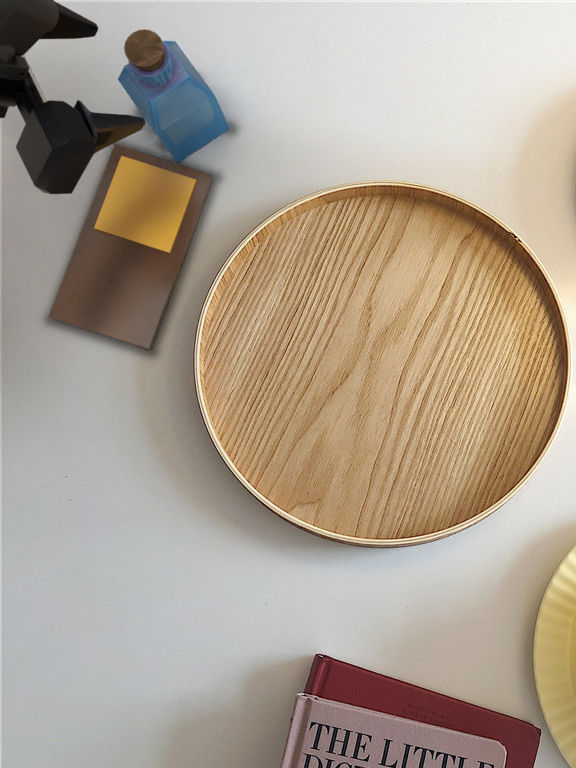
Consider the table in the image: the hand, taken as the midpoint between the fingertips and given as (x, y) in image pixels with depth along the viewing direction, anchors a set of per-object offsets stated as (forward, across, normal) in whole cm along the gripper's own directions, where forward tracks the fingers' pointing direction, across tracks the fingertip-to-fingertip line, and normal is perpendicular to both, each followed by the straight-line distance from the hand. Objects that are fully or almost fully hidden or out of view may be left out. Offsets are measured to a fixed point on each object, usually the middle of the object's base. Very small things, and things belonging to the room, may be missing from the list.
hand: (119, 76), depth 58 cm
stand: (+2, -9, +12) cm, 15 cm away
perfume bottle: (+9, 0, +5) cm, 11 cm away
